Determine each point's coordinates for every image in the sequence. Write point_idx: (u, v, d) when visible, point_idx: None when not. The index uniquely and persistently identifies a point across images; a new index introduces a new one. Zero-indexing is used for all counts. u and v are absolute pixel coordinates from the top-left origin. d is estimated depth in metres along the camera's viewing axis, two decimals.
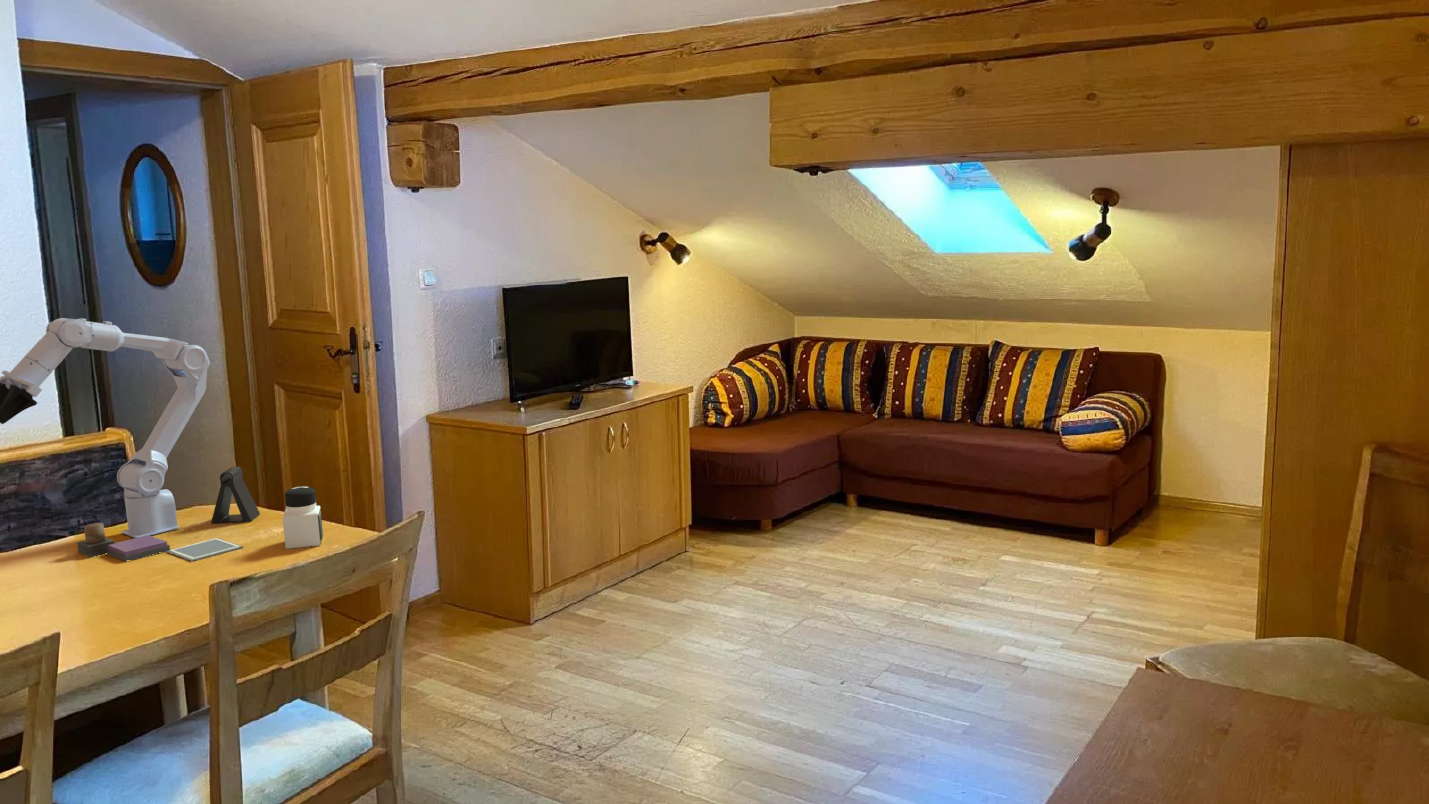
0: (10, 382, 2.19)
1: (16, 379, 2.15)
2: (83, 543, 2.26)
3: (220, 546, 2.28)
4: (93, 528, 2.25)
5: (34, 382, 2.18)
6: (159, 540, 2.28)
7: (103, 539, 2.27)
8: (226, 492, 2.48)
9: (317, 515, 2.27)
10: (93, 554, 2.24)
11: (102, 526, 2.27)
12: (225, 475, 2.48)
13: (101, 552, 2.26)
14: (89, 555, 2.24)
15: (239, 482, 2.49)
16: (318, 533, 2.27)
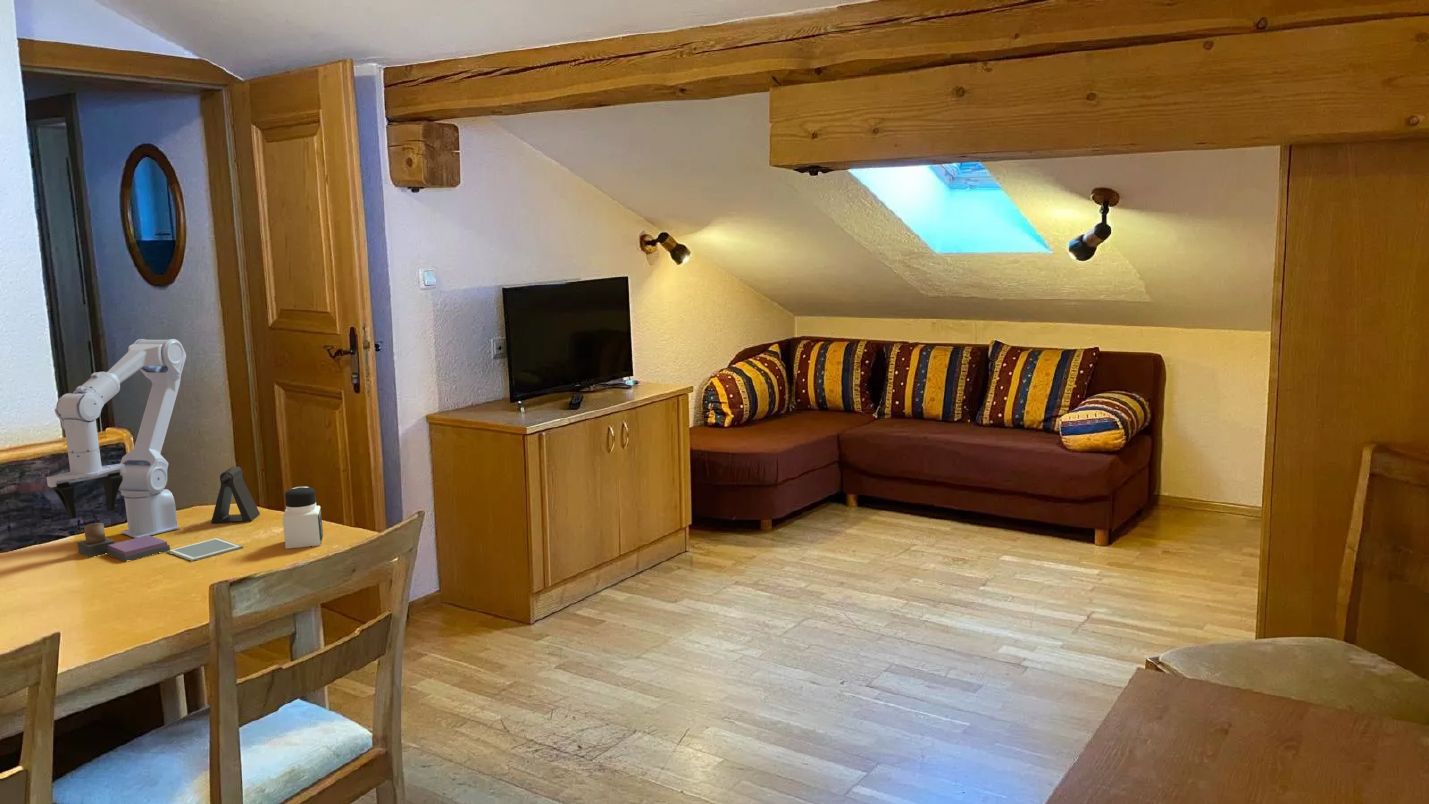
0: (78, 477, 2.23)
1: (104, 472, 2.25)
2: (83, 543, 2.26)
3: (220, 546, 2.28)
4: (93, 528, 2.25)
5: None
6: (159, 540, 2.28)
7: (103, 539, 2.27)
8: (226, 492, 2.48)
9: (317, 515, 2.27)
10: (93, 554, 2.24)
11: (102, 526, 2.27)
12: (225, 475, 2.48)
13: (101, 552, 2.26)
14: (89, 555, 2.24)
15: (239, 482, 2.49)
16: (318, 533, 2.27)
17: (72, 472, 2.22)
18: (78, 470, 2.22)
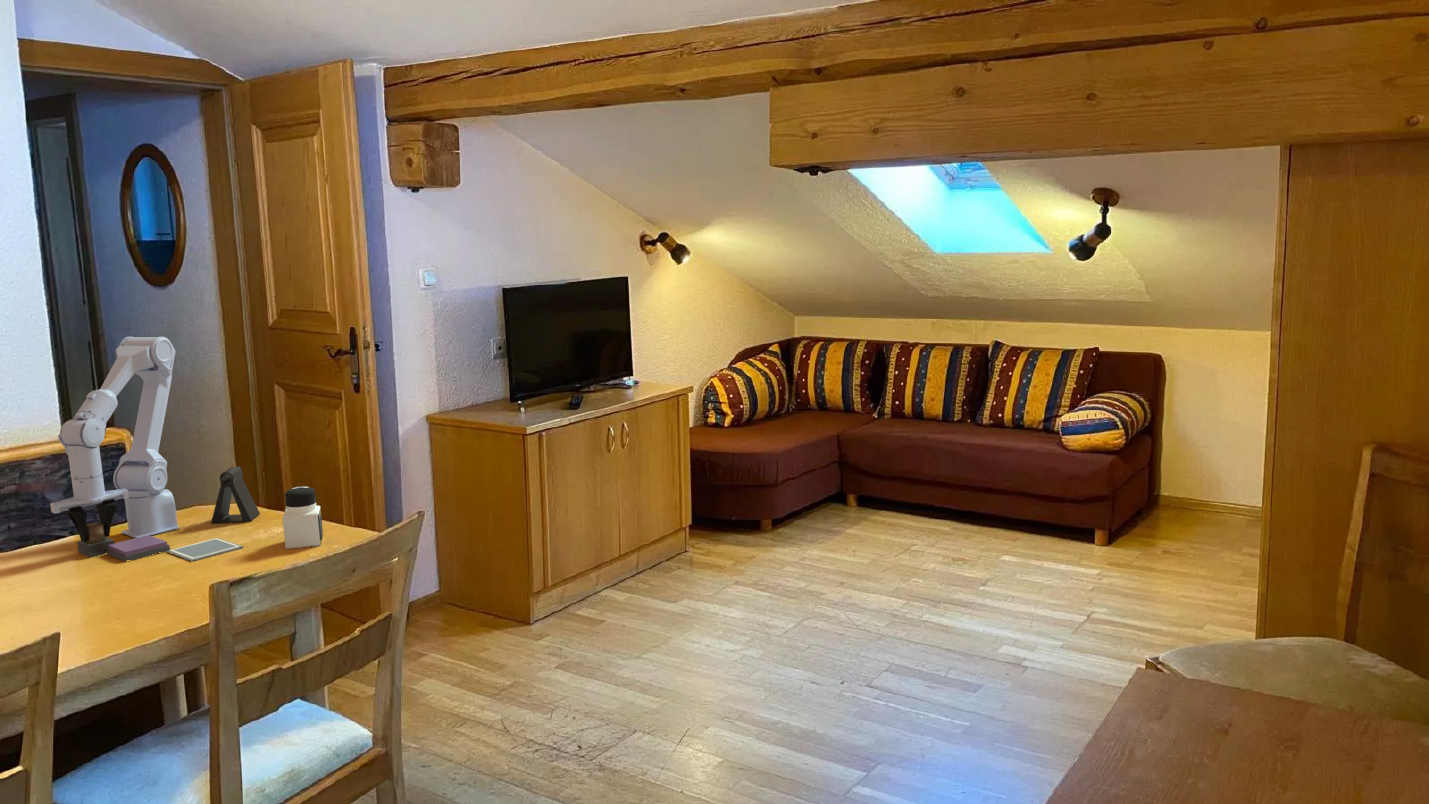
0: None
1: (108, 497, 2.26)
2: (83, 542, 2.26)
3: (220, 546, 2.28)
4: (93, 527, 2.25)
5: None
6: (159, 540, 2.28)
7: (103, 538, 2.27)
8: (226, 492, 2.48)
9: (317, 515, 2.27)
10: (93, 553, 2.24)
11: (102, 525, 2.27)
12: (225, 475, 2.48)
13: (101, 551, 2.26)
14: (89, 554, 2.24)
15: (239, 482, 2.49)
16: (318, 533, 2.27)
17: (76, 498, 2.23)
18: (81, 496, 2.23)
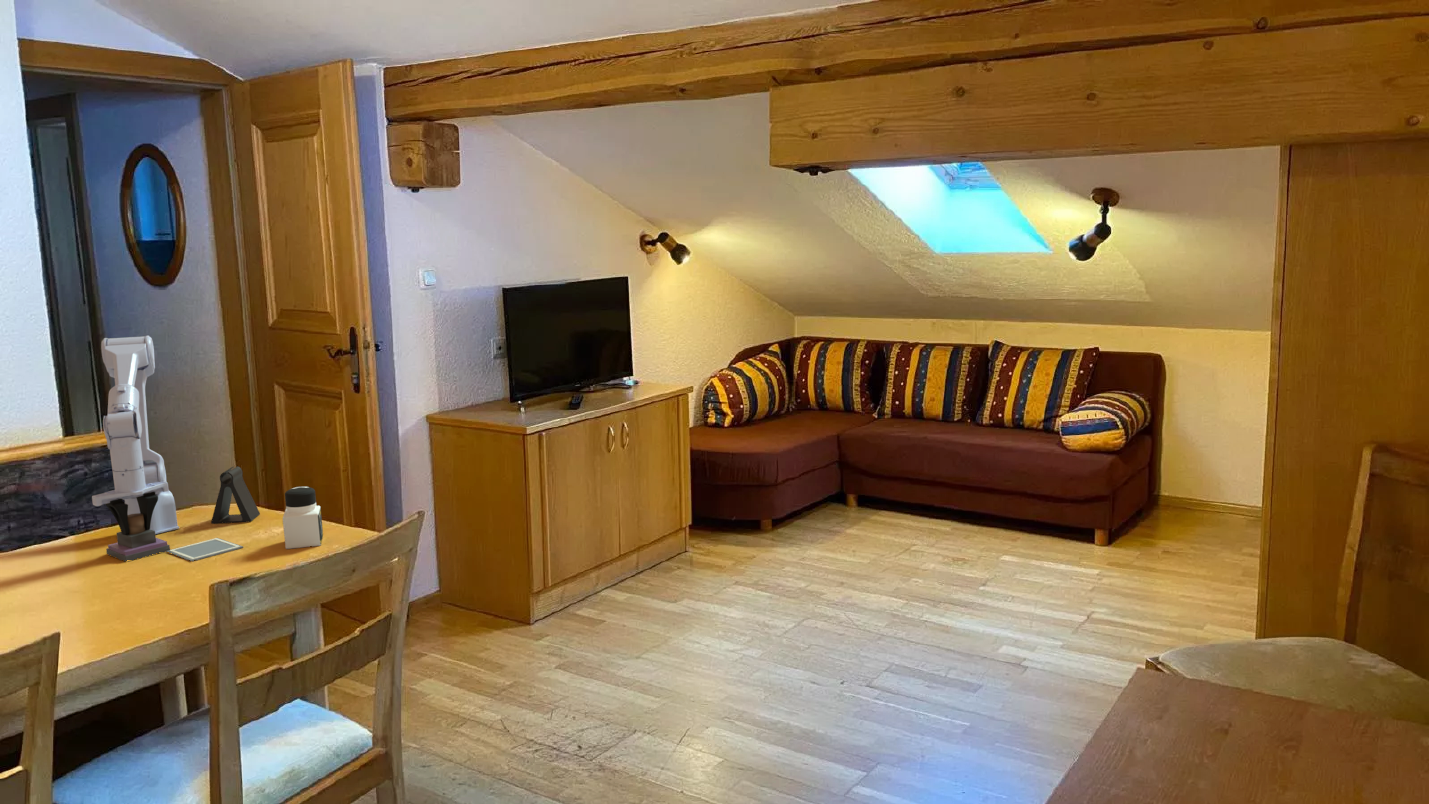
0: None
1: (148, 490, 2.25)
2: None
3: (220, 546, 2.28)
4: (134, 518, 2.24)
5: None
6: (159, 540, 2.28)
7: (143, 529, 2.26)
8: (226, 492, 2.48)
9: (317, 515, 2.27)
10: (134, 544, 2.23)
11: (142, 516, 2.26)
12: (225, 475, 2.48)
13: (142, 542, 2.24)
14: (130, 545, 2.23)
15: (239, 482, 2.49)
16: (318, 533, 2.27)
17: (117, 491, 2.22)
18: (123, 488, 2.21)
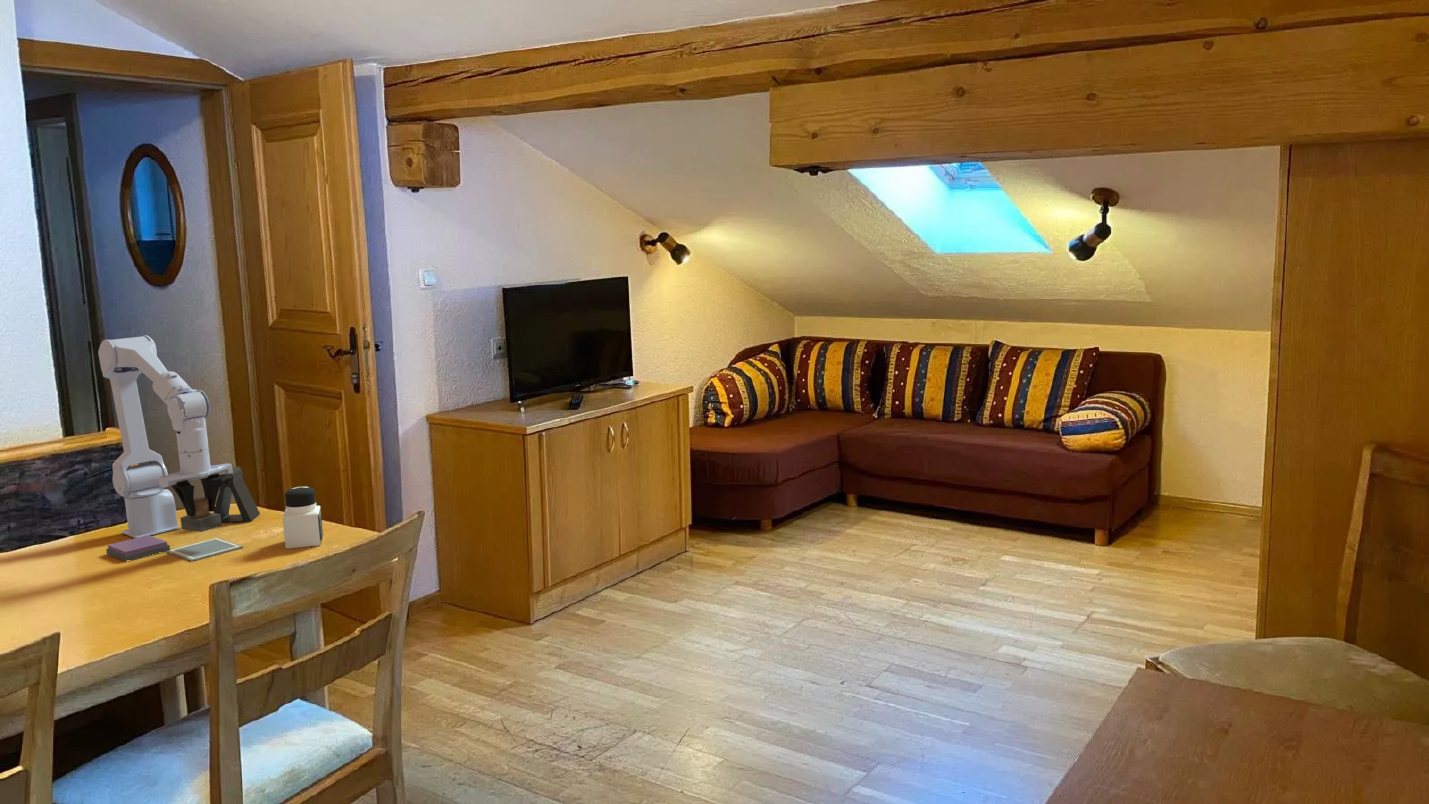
0: (189, 477, 2.22)
1: (214, 472, 2.25)
2: (189, 518, 2.24)
3: (220, 546, 2.28)
4: (201, 502, 2.24)
5: None
6: (159, 540, 2.28)
7: (209, 513, 2.26)
8: (226, 492, 2.48)
9: (317, 515, 2.27)
10: (203, 528, 2.23)
11: (207, 500, 2.26)
12: (225, 475, 2.48)
13: (210, 526, 2.25)
14: (199, 529, 2.23)
15: (239, 482, 2.49)
16: (318, 533, 2.27)
17: (183, 472, 2.22)
18: (189, 470, 2.21)
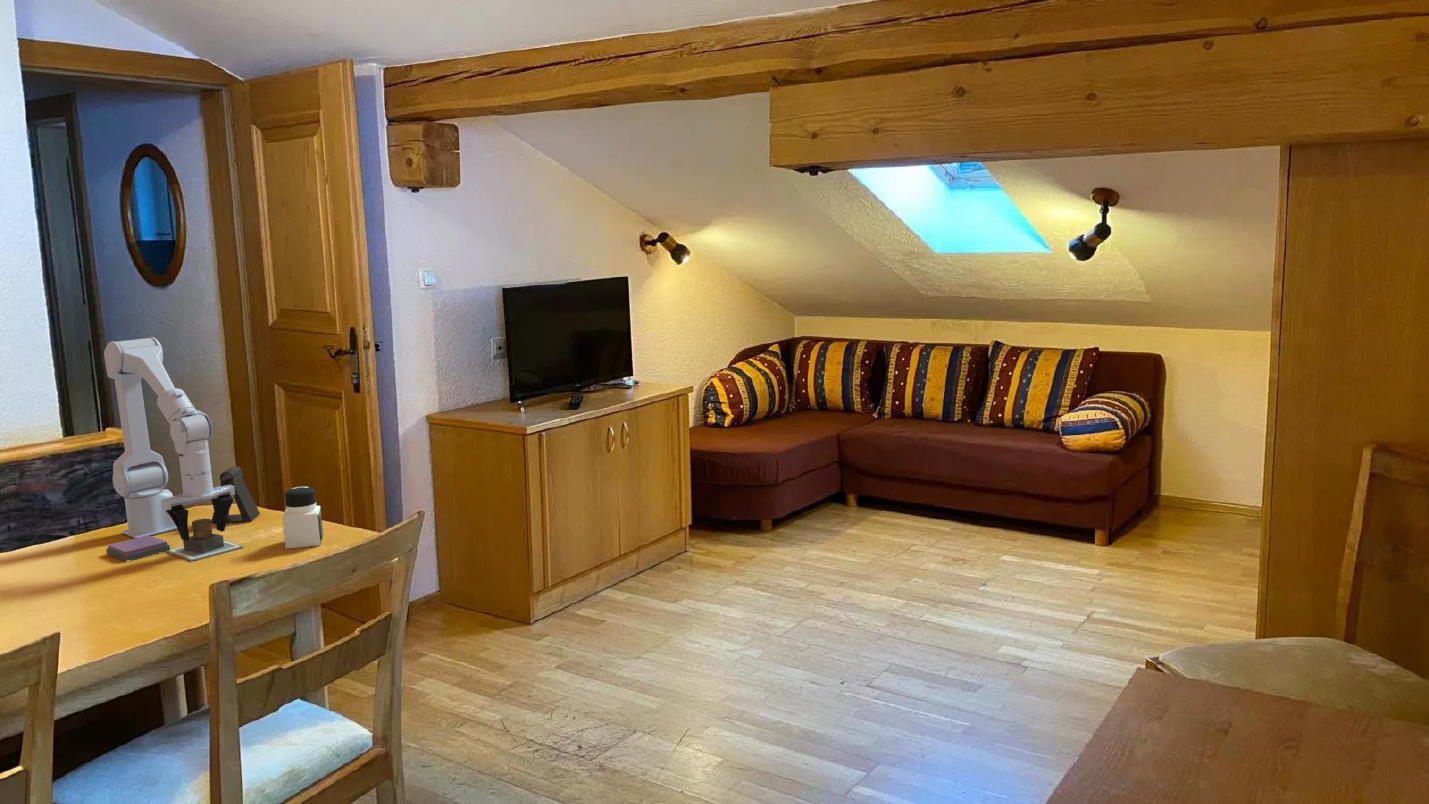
0: None
1: (216, 494, 2.26)
2: (191, 539, 2.25)
3: None
4: (203, 523, 2.25)
5: None
6: (159, 540, 2.28)
7: (211, 534, 2.27)
8: None
9: (317, 515, 2.27)
10: (206, 549, 2.24)
11: (210, 521, 2.27)
12: (225, 475, 2.48)
13: (212, 547, 2.25)
14: (201, 550, 2.24)
15: (239, 482, 2.49)
16: (318, 533, 2.27)
17: (185, 494, 2.22)
18: (191, 492, 2.22)
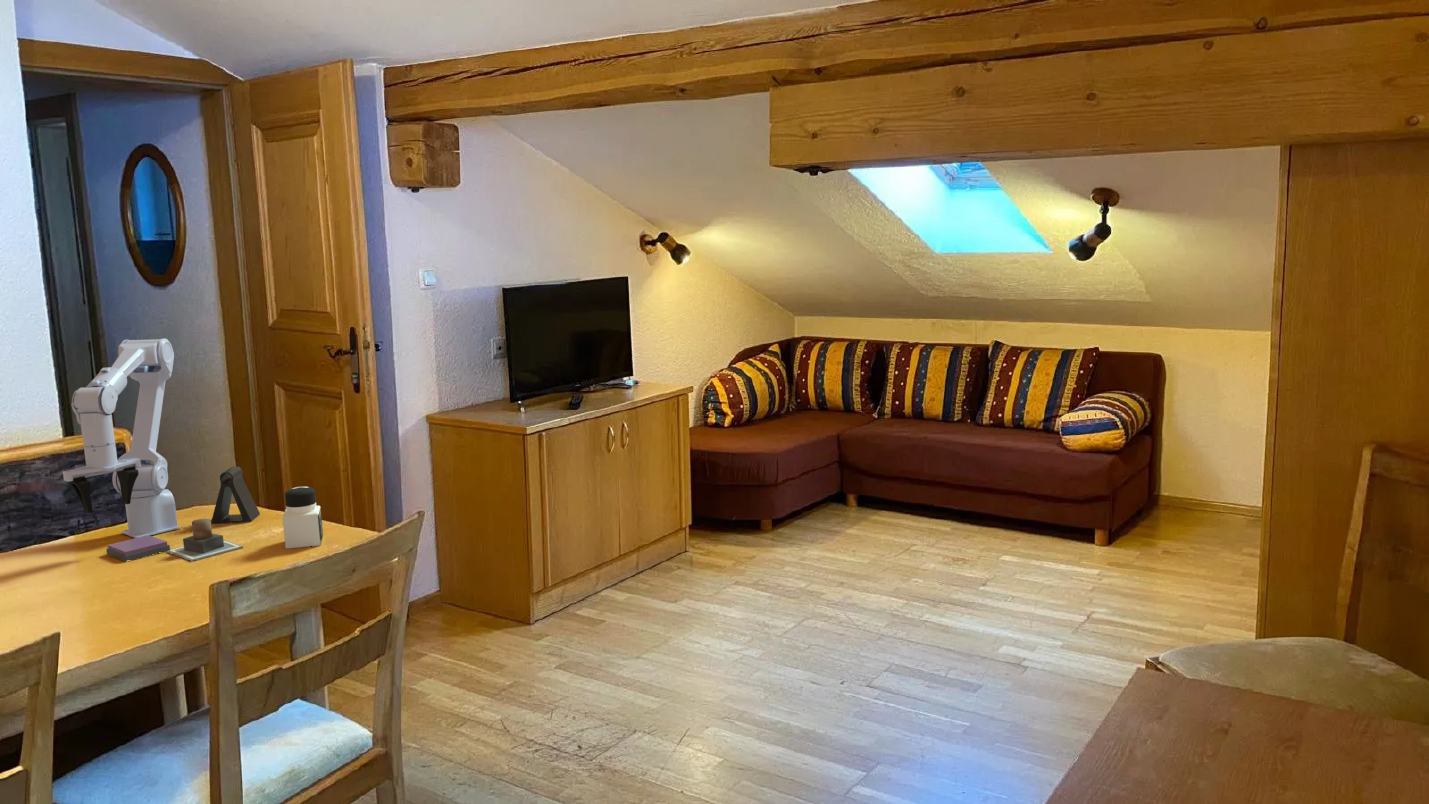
0: None
1: (120, 466, 2.24)
2: (191, 539, 2.25)
3: None
4: (203, 523, 2.25)
5: None
6: (159, 540, 2.28)
7: (211, 534, 2.27)
8: (226, 492, 2.48)
9: (317, 515, 2.27)
10: (206, 549, 2.24)
11: (210, 521, 2.27)
12: (225, 475, 2.48)
13: (212, 547, 2.25)
14: (201, 550, 2.24)
15: (239, 482, 2.49)
16: (318, 533, 2.27)
17: (88, 466, 2.21)
18: (94, 464, 2.20)
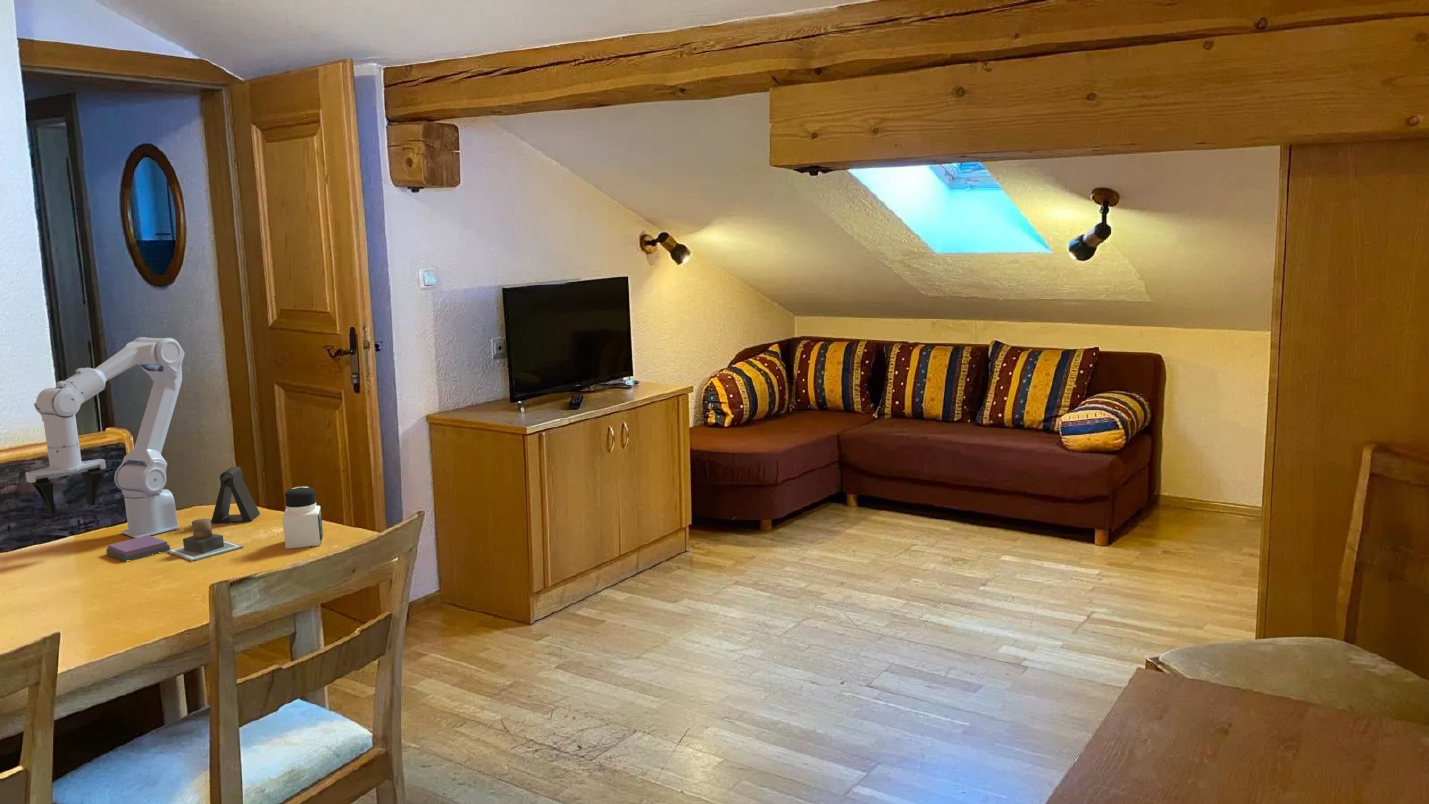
0: (58, 472, 2.21)
1: (84, 467, 2.24)
2: (191, 539, 2.25)
3: None
4: (203, 523, 2.25)
5: None
6: (159, 540, 2.28)
7: (211, 534, 2.27)
8: (226, 492, 2.48)
9: (317, 515, 2.27)
10: (206, 549, 2.24)
11: (210, 521, 2.27)
12: (225, 475, 2.48)
13: (212, 547, 2.25)
14: (201, 550, 2.24)
15: (239, 482, 2.49)
16: (318, 533, 2.27)
17: (51, 467, 2.21)
18: (57, 465, 2.20)
